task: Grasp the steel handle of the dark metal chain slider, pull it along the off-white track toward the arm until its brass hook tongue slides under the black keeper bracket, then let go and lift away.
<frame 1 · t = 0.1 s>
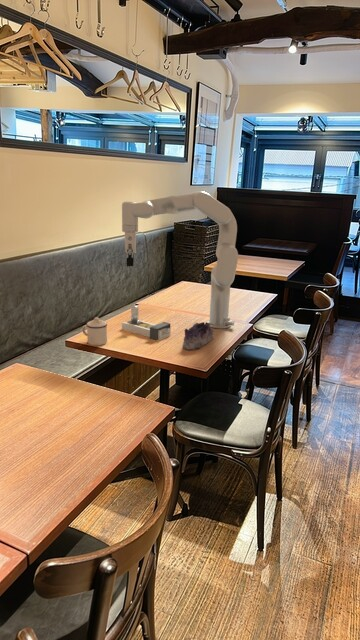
hand: (130, 264, 220), 31 cm above the table, fingers open, 9 cm apart
teacup with lid: (94, 342, 205), on the table
chain slider: (137, 316, 220), point 7 cm above the table, slide at 0.0 cm
track: (145, 332, 219), on the table
geode: (197, 344, 207), on the table
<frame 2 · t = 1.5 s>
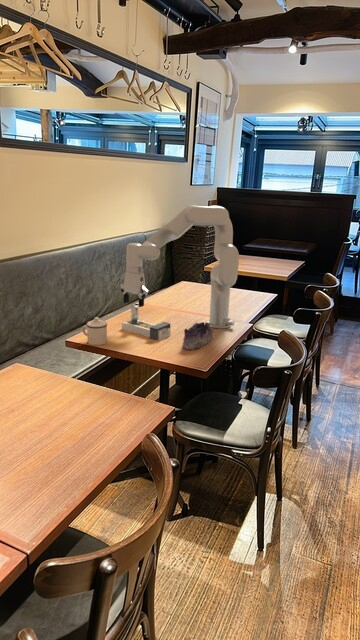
hand: (133, 304, 219), 13 cm above the table, fingers open, 9 cm apart
nothing on the table moved.
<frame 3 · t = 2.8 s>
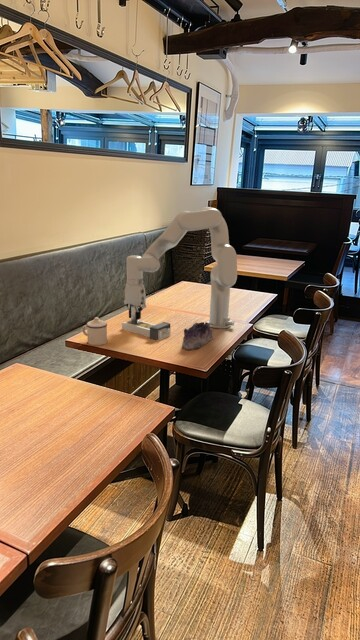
hand: (134, 318, 221), 6 cm above the table, fingers closed on chain slider, 3 cm apart
chain slider: (137, 316, 220), point 7 cm above the table, slide at 0.0 cm, touching gripper
everything else where it was.
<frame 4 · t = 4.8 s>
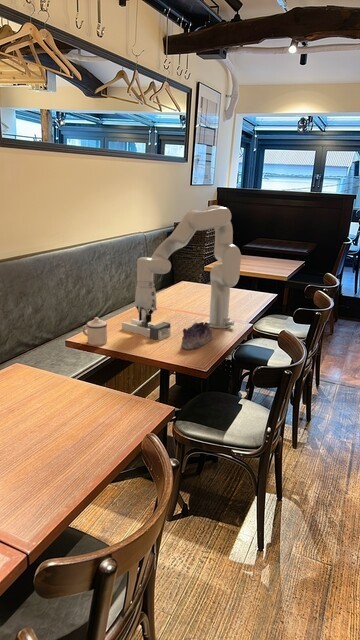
hand: (145, 320, 217), 6 cm above the table, fingers closed on chain slider, 3 cm apart
chain slider: (148, 319, 216), point 7 cm above the table, slide at 6.6 cm, touching gripper
everything else where it was.
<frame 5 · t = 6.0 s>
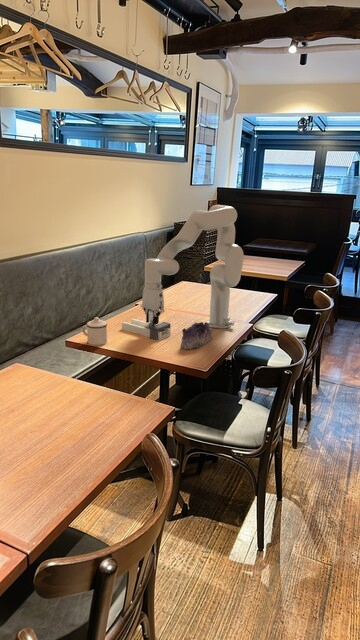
hand: (152, 322, 215), 6 cm above the table, fingers closed on chain slider, 3 cm apart
chain slider: (155, 321, 214), point 7 cm above the table, slide at 11.1 cm, touching gripper
everything else where it was.
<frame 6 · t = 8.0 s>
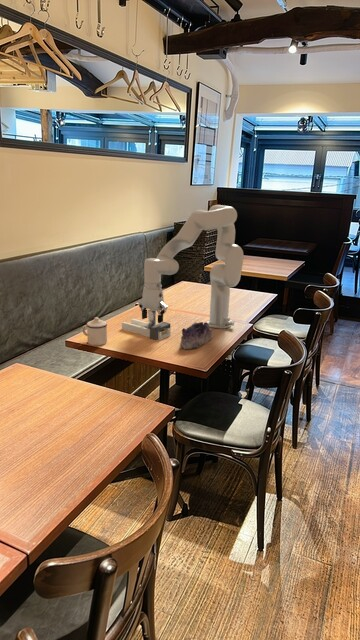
hand: (152, 320, 215), 7 cm above the table, fingers open, 9 cm apart
chain slider: (155, 321, 214), point 7 cm above the table, slide at 11.0 cm
everything else where it was.
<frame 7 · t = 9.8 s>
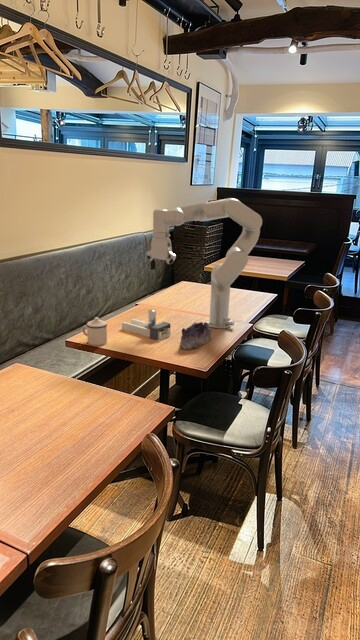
hand: (160, 270, 223), 28 cm above the table, fingers open, 9 cm apart
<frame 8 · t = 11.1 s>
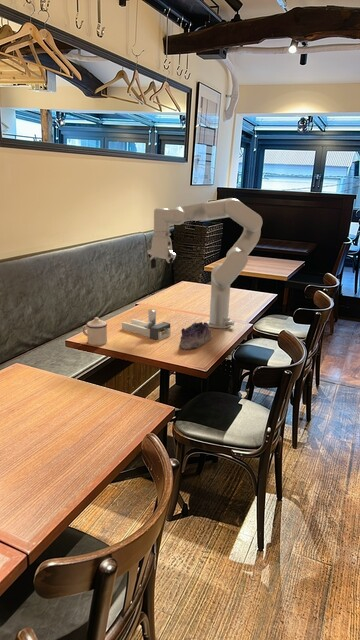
hand: (161, 269, 224), 28 cm above the table, fingers open, 9 cm apart
at the end: chain slider slide at 11.0 cm; the gripper is holding nothing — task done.
